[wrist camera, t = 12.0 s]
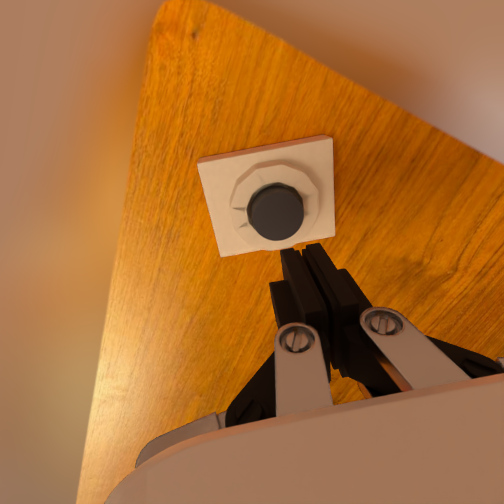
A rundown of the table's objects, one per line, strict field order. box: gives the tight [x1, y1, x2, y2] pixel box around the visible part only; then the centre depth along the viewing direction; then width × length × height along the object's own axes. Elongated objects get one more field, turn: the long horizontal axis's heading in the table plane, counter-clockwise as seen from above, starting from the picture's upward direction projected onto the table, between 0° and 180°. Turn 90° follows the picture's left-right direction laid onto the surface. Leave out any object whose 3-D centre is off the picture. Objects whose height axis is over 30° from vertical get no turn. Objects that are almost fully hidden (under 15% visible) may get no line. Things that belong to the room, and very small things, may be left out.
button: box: [251, 186, 304, 241], centre depth 20 cm, size 4×4×2 cm
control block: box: [197, 135, 335, 257], centre depth 22 cm, size 10×8×4 cm
